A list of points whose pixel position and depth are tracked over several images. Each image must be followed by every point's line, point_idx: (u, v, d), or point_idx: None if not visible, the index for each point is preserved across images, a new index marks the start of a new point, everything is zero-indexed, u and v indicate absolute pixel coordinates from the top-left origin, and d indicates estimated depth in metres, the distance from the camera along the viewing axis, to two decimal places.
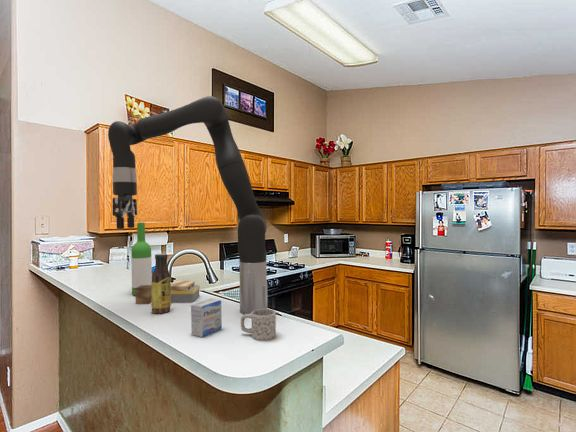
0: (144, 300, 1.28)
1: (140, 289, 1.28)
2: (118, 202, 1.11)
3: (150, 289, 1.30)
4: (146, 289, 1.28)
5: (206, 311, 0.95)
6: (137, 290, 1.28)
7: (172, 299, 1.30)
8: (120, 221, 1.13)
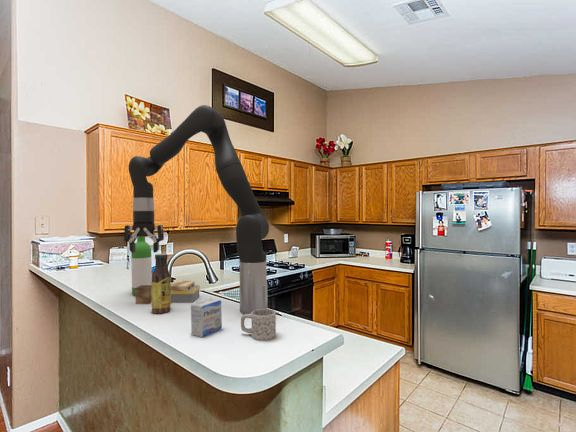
0: (145, 300, 1.28)
1: (140, 289, 1.28)
2: (162, 229, 1.31)
3: (150, 289, 1.30)
4: (146, 289, 1.28)
5: (206, 311, 0.95)
6: (137, 290, 1.28)
7: (172, 299, 1.30)
8: (158, 245, 1.30)
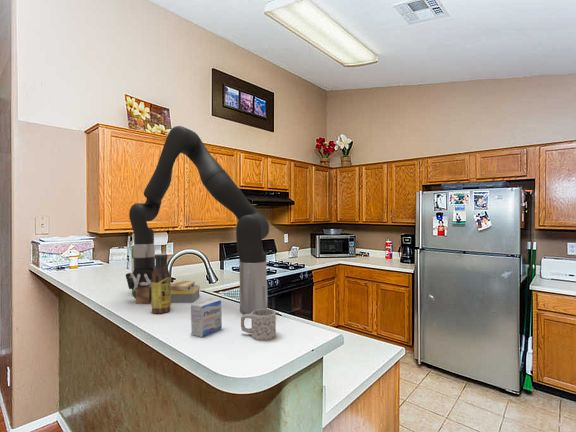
0: (145, 299, 1.28)
1: (140, 289, 1.28)
2: None
3: None
4: (146, 289, 1.28)
5: (206, 311, 0.95)
6: (137, 290, 1.28)
7: (172, 299, 1.30)
8: None
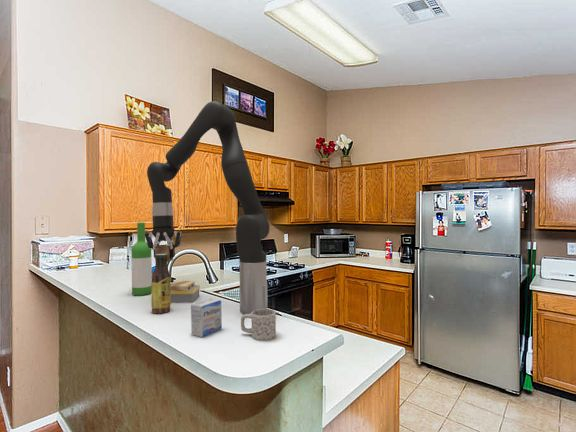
0: None
1: (160, 247, 1.29)
2: (180, 236, 1.32)
3: (169, 247, 1.31)
4: (166, 247, 1.29)
5: (206, 311, 0.95)
6: (157, 248, 1.29)
7: (172, 299, 1.30)
8: (174, 251, 1.32)
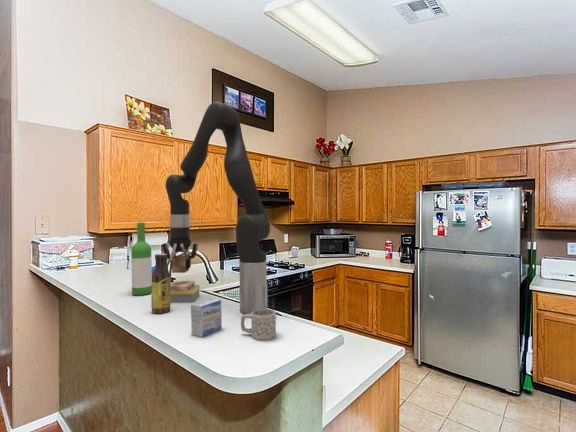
0: (181, 268, 1.32)
1: (176, 258, 1.32)
2: (197, 247, 1.34)
3: None
4: (182, 258, 1.31)
5: (206, 311, 0.95)
6: (173, 259, 1.32)
7: (172, 299, 1.30)
8: (190, 262, 1.34)
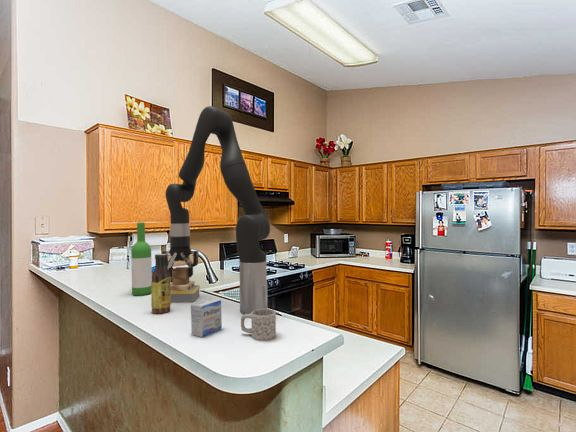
0: (181, 280, 1.32)
1: (177, 270, 1.32)
2: (197, 254, 1.35)
3: (186, 270, 1.33)
4: (183, 270, 1.31)
5: (206, 311, 0.95)
6: (174, 271, 1.32)
7: (172, 299, 1.30)
8: (192, 270, 1.34)
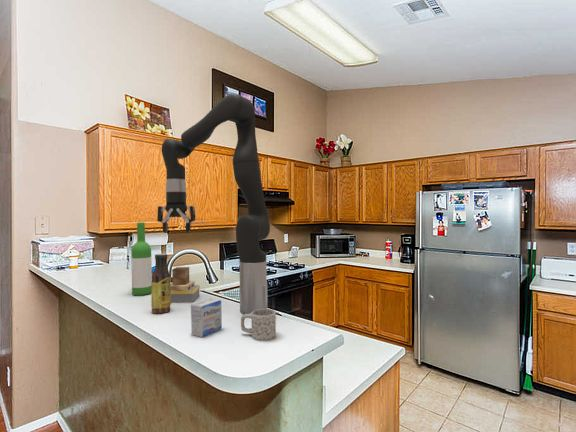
0: (181, 280, 1.32)
1: (177, 270, 1.32)
2: (194, 210, 1.34)
3: (186, 270, 1.33)
4: (183, 270, 1.31)
5: (206, 311, 0.95)
6: (174, 271, 1.32)
7: (172, 299, 1.30)
8: (190, 226, 1.34)
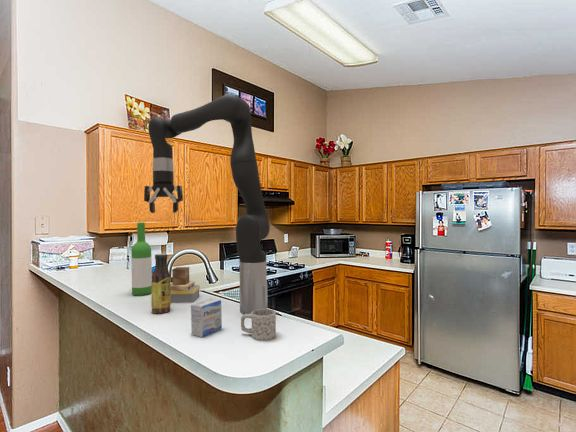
0: (181, 280, 1.32)
1: (177, 270, 1.32)
2: (181, 189, 1.32)
3: (186, 270, 1.33)
4: (183, 270, 1.31)
5: (206, 311, 0.95)
6: (174, 271, 1.32)
7: (172, 299, 1.30)
8: (177, 206, 1.32)
